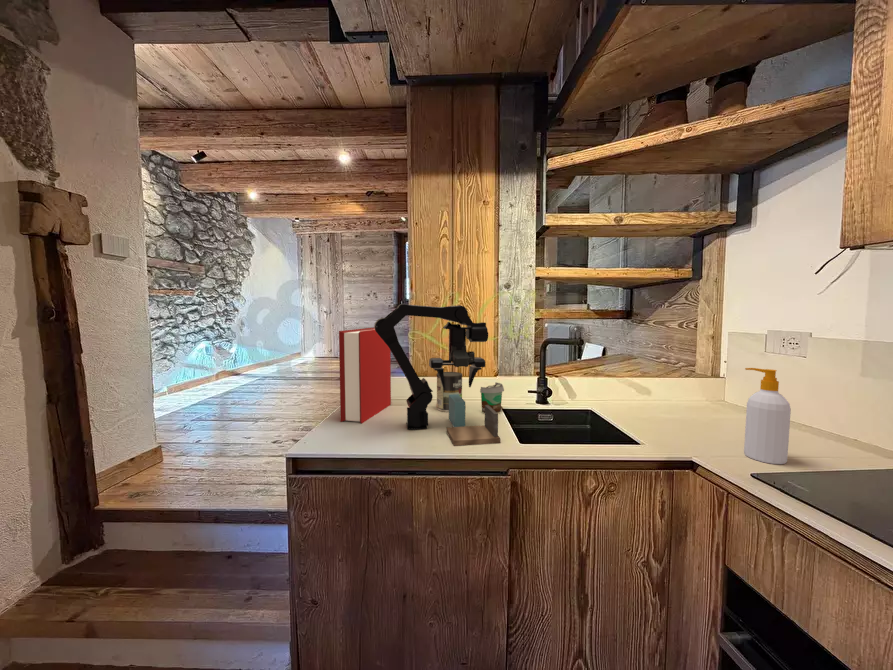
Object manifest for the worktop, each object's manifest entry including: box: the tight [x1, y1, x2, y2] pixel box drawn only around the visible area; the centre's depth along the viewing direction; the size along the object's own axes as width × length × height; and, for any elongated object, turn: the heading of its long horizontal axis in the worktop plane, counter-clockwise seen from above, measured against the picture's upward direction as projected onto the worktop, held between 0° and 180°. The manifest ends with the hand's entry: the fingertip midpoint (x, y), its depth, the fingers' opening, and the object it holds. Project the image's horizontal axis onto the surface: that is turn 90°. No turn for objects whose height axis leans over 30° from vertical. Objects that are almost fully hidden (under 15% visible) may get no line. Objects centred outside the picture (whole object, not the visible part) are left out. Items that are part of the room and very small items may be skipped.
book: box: [338, 327, 392, 424], centre depth 136 cm, size 27×8×32 cm, turn 166°
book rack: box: [446, 405, 501, 447], centre depth 110 cm, size 14×12×8 cm
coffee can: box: [436, 371, 463, 413], centre depth 142 cm, size 10×10×14 cm
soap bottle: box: [743, 367, 792, 465], centre depth 94 cm, size 9×9×24 cm
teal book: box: [448, 394, 466, 427], centre depth 123 cm, size 4×11×9 cm, turn 10°
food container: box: [479, 382, 505, 414], centre depth 139 cm, size 12×6×10 cm, turn 143°
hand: (456, 387), depth 122 cm, fingers open, 9 cm apart
